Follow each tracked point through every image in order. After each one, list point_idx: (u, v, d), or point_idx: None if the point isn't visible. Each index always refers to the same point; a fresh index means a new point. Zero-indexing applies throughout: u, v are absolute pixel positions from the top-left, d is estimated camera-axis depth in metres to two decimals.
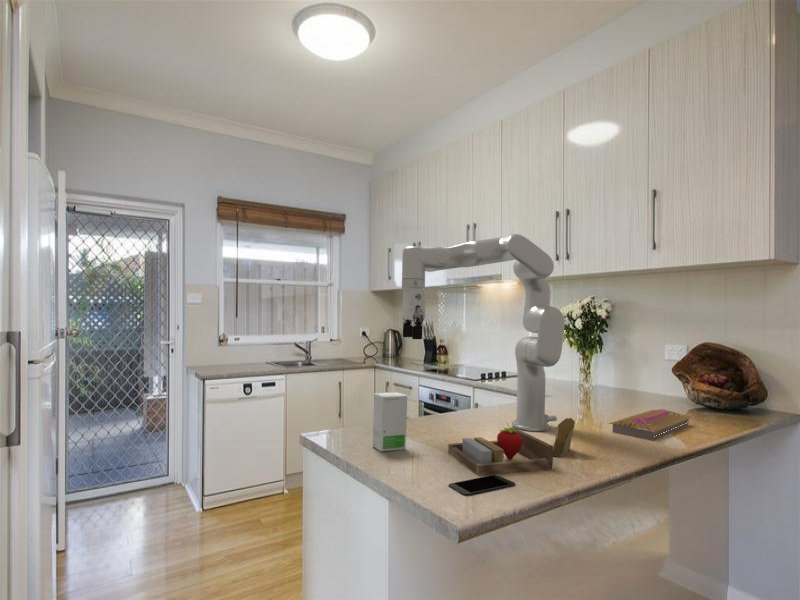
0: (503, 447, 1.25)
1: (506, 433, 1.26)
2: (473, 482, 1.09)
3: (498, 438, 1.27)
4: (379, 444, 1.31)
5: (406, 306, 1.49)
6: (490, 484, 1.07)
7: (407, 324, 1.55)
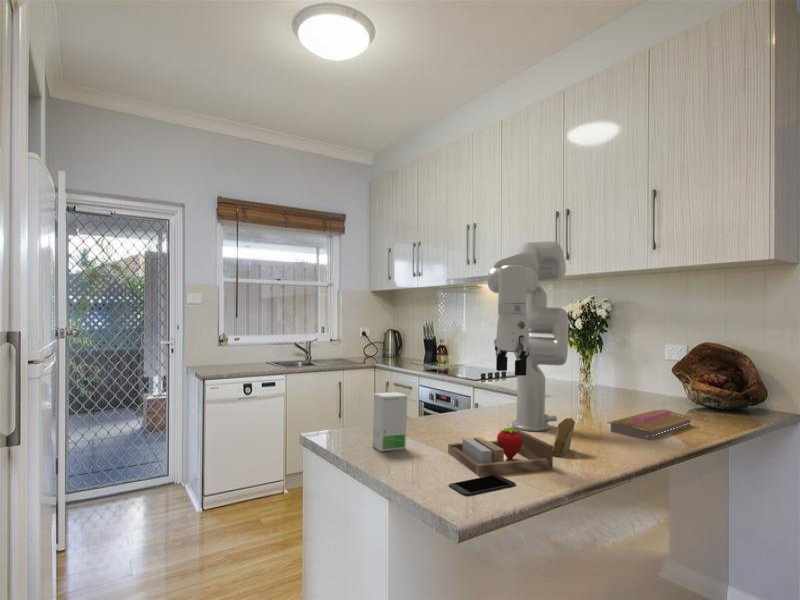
0: (503, 447, 1.25)
1: (506, 433, 1.26)
2: (473, 482, 1.09)
3: (498, 438, 1.27)
4: (379, 444, 1.31)
5: (505, 336, 1.26)
6: (490, 484, 1.07)
7: (501, 355, 1.32)
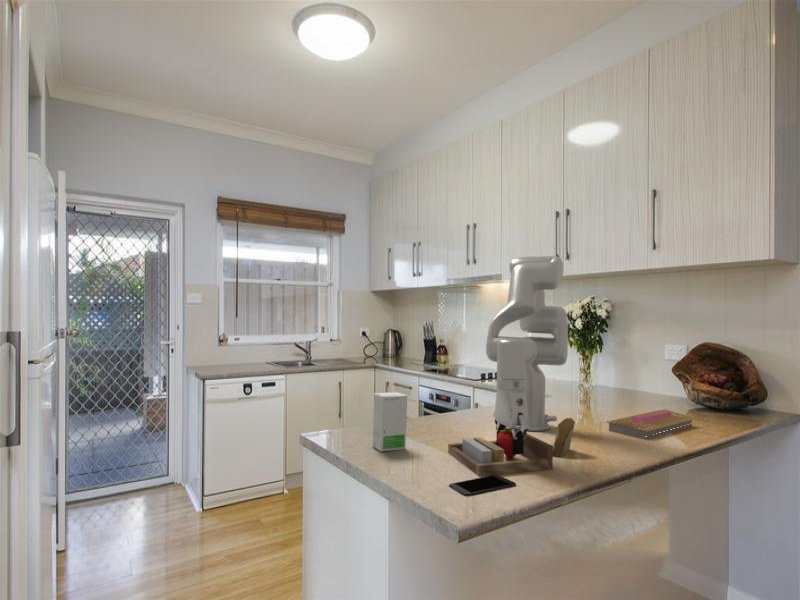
0: (503, 447, 1.25)
1: (506, 433, 1.26)
2: (474, 482, 1.08)
3: (498, 438, 1.27)
4: (379, 444, 1.31)
5: (504, 411, 1.25)
6: (490, 484, 1.07)
7: None
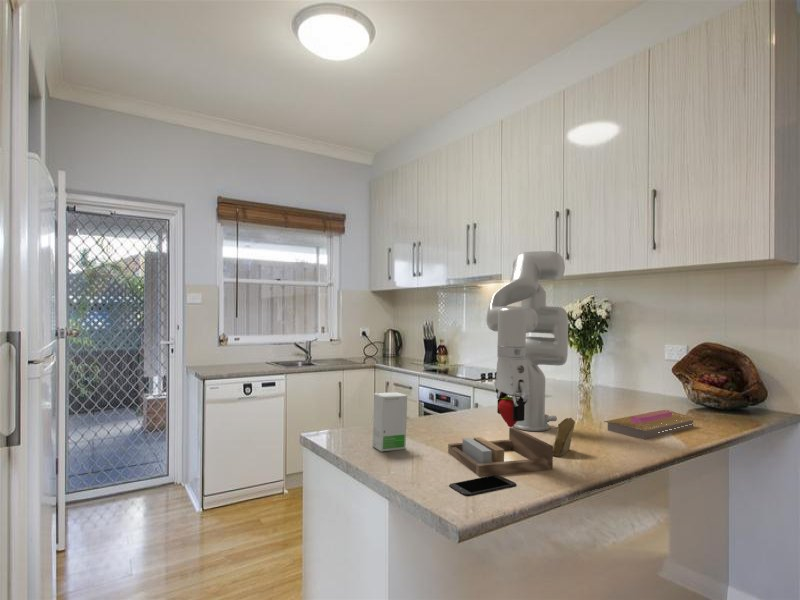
0: (504, 414, 1.26)
1: (507, 401, 1.27)
2: (474, 482, 1.08)
3: (499, 406, 1.28)
4: (379, 444, 1.31)
5: (505, 379, 1.26)
6: (491, 484, 1.07)
7: None
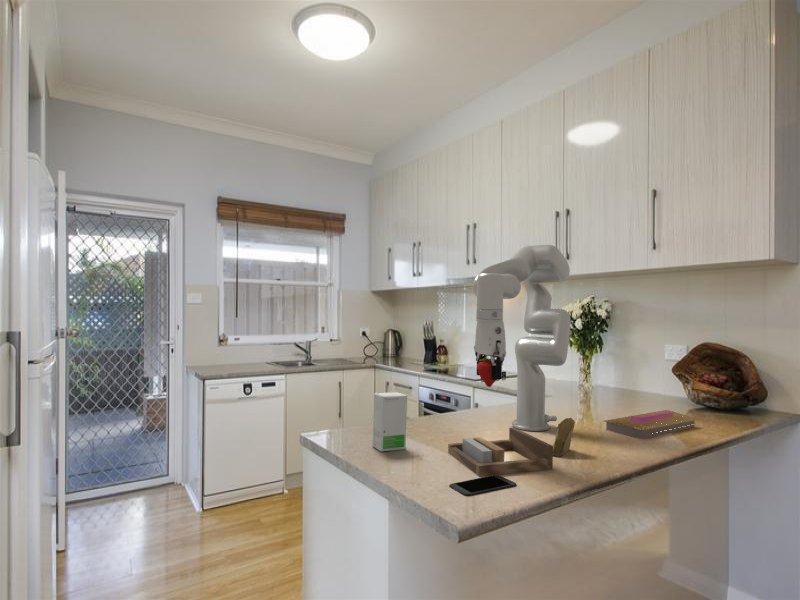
0: (483, 374, 1.33)
1: (485, 361, 1.33)
2: (474, 482, 1.08)
3: (478, 367, 1.34)
4: (379, 444, 1.31)
5: (483, 340, 1.32)
6: (491, 484, 1.07)
7: (481, 361, 1.38)
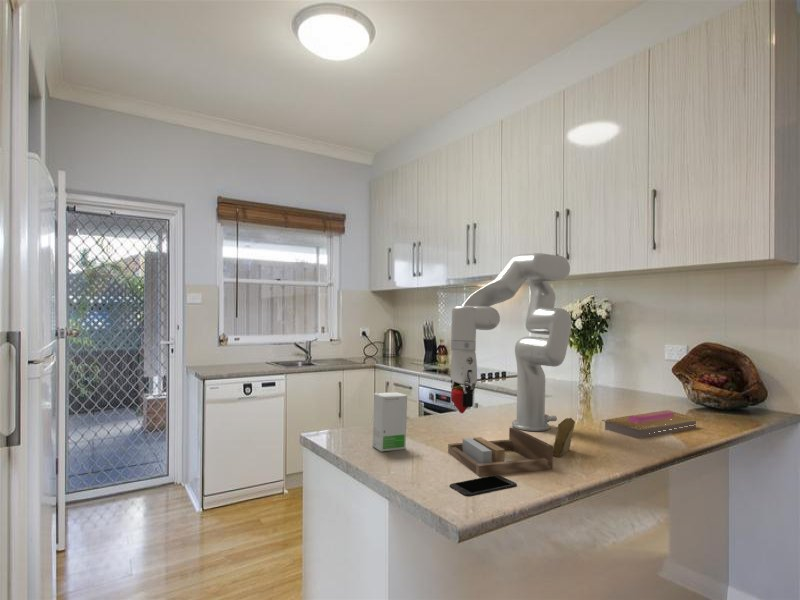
0: (455, 401, 1.41)
1: (458, 389, 1.41)
2: (474, 482, 1.08)
3: (451, 394, 1.42)
4: (379, 444, 1.31)
5: (456, 369, 1.41)
6: (491, 484, 1.07)
7: (456, 388, 1.46)
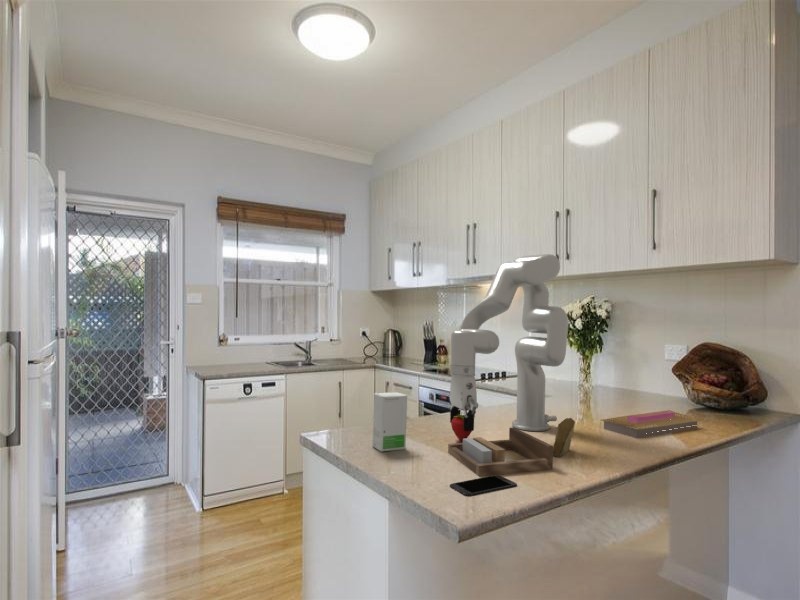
0: (456, 431, 1.41)
1: (458, 418, 1.41)
2: (474, 482, 1.08)
3: (452, 423, 1.42)
4: (379, 444, 1.31)
5: (456, 394, 1.41)
6: (491, 485, 1.07)
7: (455, 409, 1.47)
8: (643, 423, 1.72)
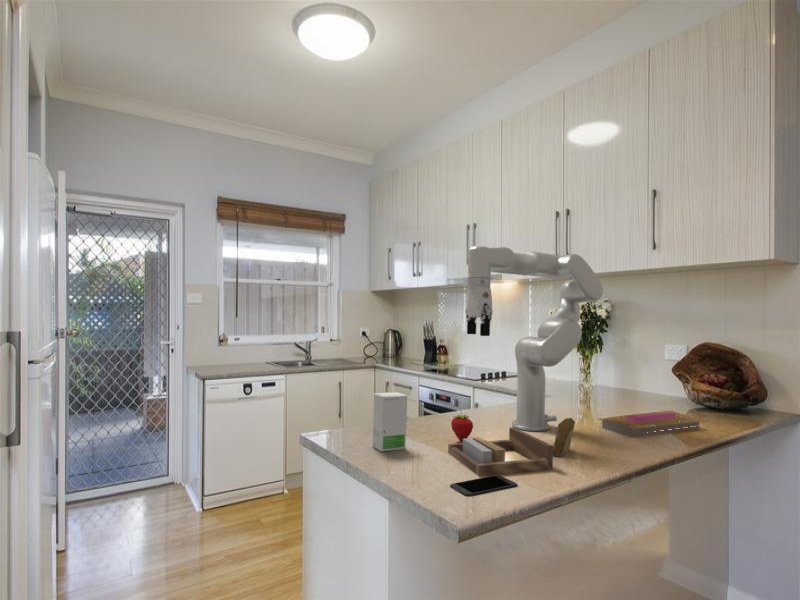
0: (456, 431, 1.41)
1: (458, 419, 1.41)
2: (475, 482, 1.08)
3: (452, 423, 1.42)
4: (379, 444, 1.31)
5: (473, 304, 1.54)
6: (492, 485, 1.07)
7: (471, 321, 1.60)
8: (644, 423, 1.72)
